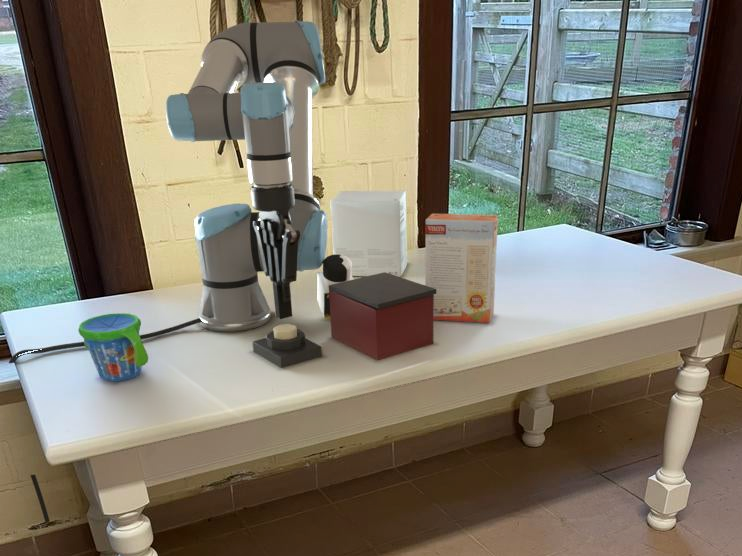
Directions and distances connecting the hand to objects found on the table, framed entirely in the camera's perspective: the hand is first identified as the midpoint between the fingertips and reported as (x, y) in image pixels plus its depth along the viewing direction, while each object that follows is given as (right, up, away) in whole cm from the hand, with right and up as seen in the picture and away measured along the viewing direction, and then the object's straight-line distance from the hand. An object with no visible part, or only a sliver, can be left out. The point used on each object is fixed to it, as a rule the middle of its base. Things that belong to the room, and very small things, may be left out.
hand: (284, 316), depth 149 cm
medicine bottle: (+8, +8, +24) cm, 26 cm away
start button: (0, -3, +2) cm, 4 cm away
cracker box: (+35, +5, +20) cm, 41 cm away
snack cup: (-30, -12, -3) cm, 32 cm away
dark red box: (+19, -3, +9) cm, 21 cm away
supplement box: (+16, +25, +52) cm, 60 cm away
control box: (0, -6, +4) cm, 8 cm away
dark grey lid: (+19, +6, +3) cm, 20 cm away
